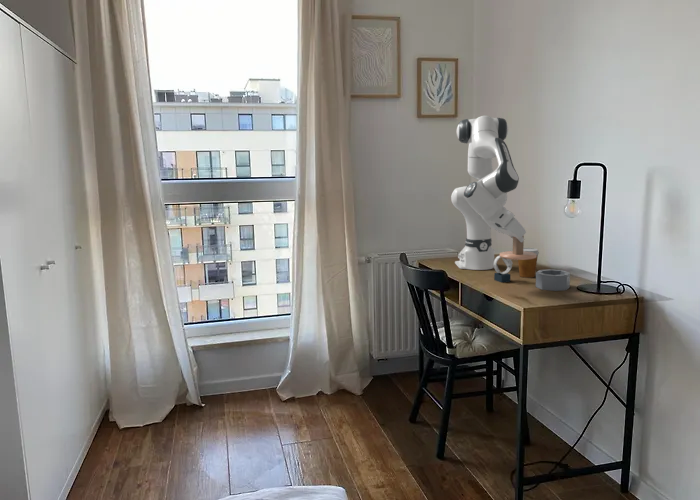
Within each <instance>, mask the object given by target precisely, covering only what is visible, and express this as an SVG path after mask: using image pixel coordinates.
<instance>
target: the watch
mask: <svg viewBox="0 0 700 500" xmlns="http://www.w3.org/2000/svg"><path fill="white" fill-rule="evenodd" d="M494 259H495V260H494V265H493V266H494V268H493V269H494V270H495V272H494V275H493V276H494V277H493V278H494V281H495V282H499V283H502V284H503V283H508V282H511V274H510V273H509V272H511V269H512V268H513V260H512V259H505V258H501V257H500V254H499V255H497V256H496V257H494ZM500 259H502V261H503V263H504V264H505V266H506V268H505V269H506V270H504V271H501V270H500V268H499V266H498V261H499V260H500Z"/></svg>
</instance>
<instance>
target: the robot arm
mask: <svg viewBox="0 0 700 500" xmlns="http://www.w3.org/2000/svg"><path fill="white" fill-rule="evenodd" d="M507 122H508V121H507V120H506V119H505V118H502V117H492V116H489V115H481V116H478V117H477V118H471V119H470V118H469V119H468V118H466V119H461V120H460V121H459V122H458V125H457V127H456V137H457V139H458V141H459V142H460V143H462V144H468V149H467V173H468V175H469V176H470V177H472V178H473V179H475V180H478V181H472V182H470V183H469V184H468V185H464V186H460V187H455V188H454V189H453V191H452V193H451V194H450V195H451V196H450V200H451V203H452V205H453V207H454V208H455V209H457V210H458V211H459V212H460V213H461V214H462V217H463V218H464V220H465V226H466V238H465V241H464V245H465V246H464V247H463V248H462V249H461V250H460V252H459V253H458V254H457V258H458V259H459V260H455V261H454V264H455V265H456V266H457V267H458V269H461V270H463V269H464V270H474V271H475V270H476V271H481V270H482V271H484V270H487V271H488V270H492V269H494V266H493V265H494V260H495V250H494V249H493V247H492V242H493V240H492V237H491V235H492V233H491V232H492V231H491V229H494V230H496V231H497V232H498V233H501V234H503V235H507V236H509V237H510V238H512V239H513V237H516V238H517V240H518V241H519V242H523V241H524V242H525V234H526V233H527V230H526V229H525V227H524V226H523V225H522V224H521V223H520V222H519V220H518V219H517V218H516V217H515V214H514V213H513V212H511V211H510V210H508V209H507V208H506V207H504V206H505V205H506V203H507V201H508V193H509V192H512V191H514V190H515V189H517V187H518V185H519V181H520V180H519V179H520V178H519V175H518V172H517V170H516V169H515V167H514V163H513V161H512V158H511V154H510V150H509V148H508V145H507V143H506V142H505V141H504V140H505V139H507V136H508V133H509V125H508V123H507ZM493 158H496V161H497V164H498V165H497V167H496V168H495V170H493ZM523 236H524V238H523Z"/></svg>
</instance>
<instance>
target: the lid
mask: <svg viewBox="0 0 700 500" xmlns="http://www.w3.org/2000/svg"><path fill="white" fill-rule="evenodd" d="M523 238H524V239H525V235H524V236H523ZM524 243H525V240H524V241H523V242H519V241H518V240H517V238H516V237H513V238H512V250H507V251H501V252H499V255H500V257H501V258H500V259H503V258H505V259H511V260H512V261H513V260H515V261H516V260H517V261H518V260H528V259H534V258H536V257H537V254H536V253H533V252H526V251H523V248H524ZM537 258H538V257H537Z"/></svg>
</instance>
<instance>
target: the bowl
mask: <svg viewBox="0 0 700 500" xmlns="http://www.w3.org/2000/svg"><path fill="white" fill-rule="evenodd" d="M570 283H571V272H570V271H566V270H561V269H540V270H538V271H535V288H537V289H540V290H542V291H552V292H557V291H568V290H569V289H570V286H571V284H570Z"/></svg>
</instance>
